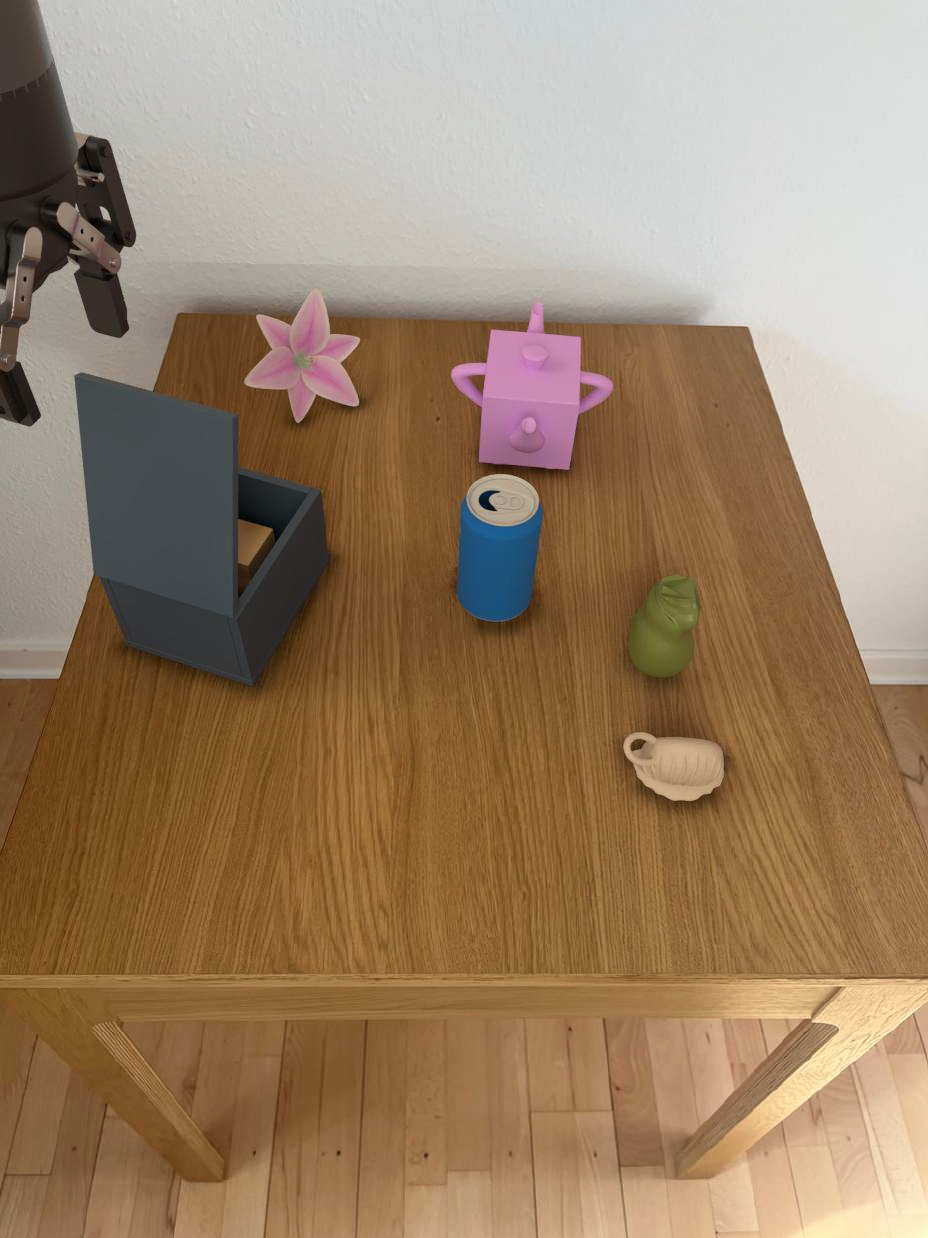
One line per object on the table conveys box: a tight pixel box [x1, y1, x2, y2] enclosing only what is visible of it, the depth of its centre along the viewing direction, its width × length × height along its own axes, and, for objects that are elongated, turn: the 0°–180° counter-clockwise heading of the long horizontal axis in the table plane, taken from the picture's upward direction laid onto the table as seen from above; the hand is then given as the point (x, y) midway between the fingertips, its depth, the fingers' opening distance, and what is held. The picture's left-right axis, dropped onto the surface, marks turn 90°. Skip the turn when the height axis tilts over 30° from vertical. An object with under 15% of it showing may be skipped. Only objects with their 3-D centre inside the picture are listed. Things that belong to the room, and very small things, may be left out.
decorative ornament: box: [622, 731, 725, 802], centre depth 70 cm, size 4×8×5 cm, turn 84°
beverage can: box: [456, 473, 544, 622], centre depth 77 cm, size 6×6×12 cm
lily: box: [243, 287, 361, 424], centre depth 96 cm, size 12×12×10 cm
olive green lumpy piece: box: [627, 574, 702, 679], centre depth 74 cm, size 6×5×10 cm
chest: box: [98, 466, 330, 688], centre depth 77 cm, size 15×12×9 cm
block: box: [238, 519, 275, 596], centre depth 80 cm, size 4×4×4 cm
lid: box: [73, 371, 240, 617], centre depth 65 cm, size 15×12×1 cm
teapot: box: [450, 301, 614, 471], centre depth 91 cm, size 15×13×11 cm
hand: (68, 373), depth 52 cm, fingers open, 8 cm apart
